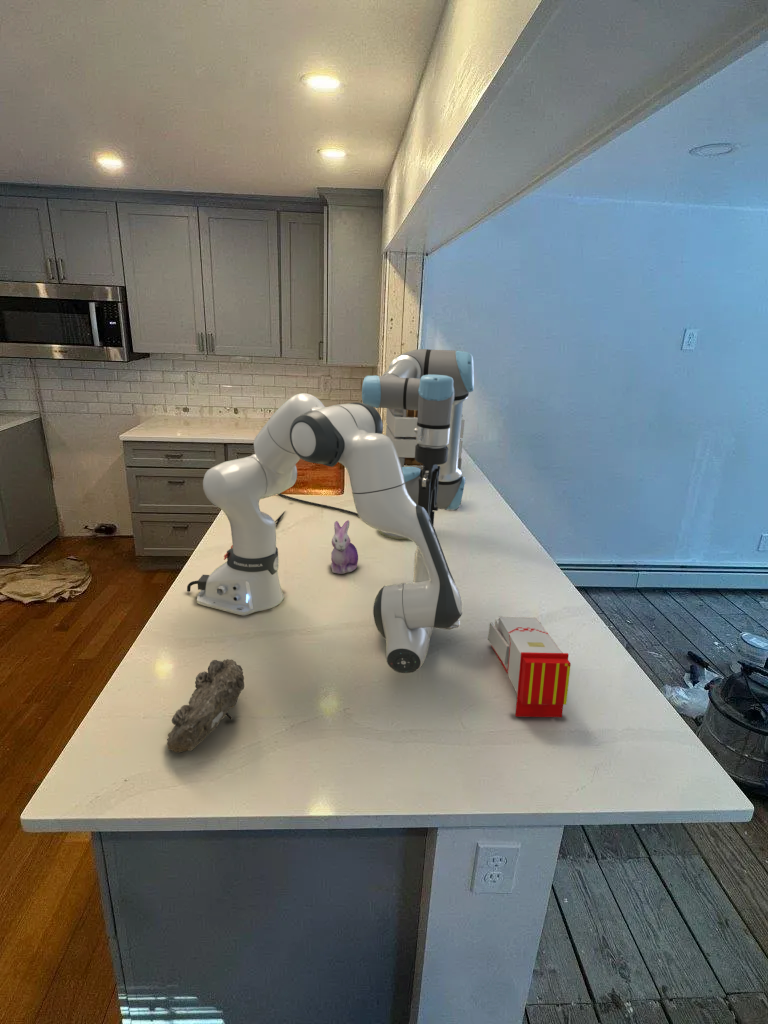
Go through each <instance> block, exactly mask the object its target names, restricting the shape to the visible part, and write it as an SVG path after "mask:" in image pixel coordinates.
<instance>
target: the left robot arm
mask: <svg viewBox="0 0 768 1024" xmlns="http://www.w3.org/2000/svg"><path fill="white" fill-rule="evenodd" d="M383 431H384V426H383V419H382V417H381V415H380V413H379V412H378V410H377V408H375V407H372V406H370V405H368V404H364V403H363V402H349V403H339V404H333V405H330V406H325V404H324V403H323V402H322V401H321V400H320V399H319V398H317V397H316V396H315V395H313V394H310V393H306V392H302V393H301V392H300V393H296V394H294V395H292V396H290V398H289V399H287V400H286V401H284V403H283V404H281V405H280V406H279V408H277V409H276V411H274V412H273V414H272V415H271V416H270V418H269V419H268V420H267V421H266V423H265V424H264V425H263V427H262V428H260V430H259V432H258V433H257V435H255V436H254V439H253V451H254V453H252V454H251V455H249V456H245V457H240V458H236V459H232V460H226V461H223V462H221V463H218V464H217V465H215V466H212V467H210V468H208V469H207V471H205V474H204V475H203V479H202V490H203V493H204V495H205V498H206V499H207V500H208V501H209V502H210V503H211V505H213V506H215V507H216V508H219V509H220V510H221V511H222V512H223V513H224V514H225V516H226V518H227V520H228V523H229V525H230V532H231V541H232V544H231V546H230V548H229V549H227V551H226V553H225V554H224V555H223V560H224V561H225V560H226V561H225V562H223V563H222V564H221V565H219V566H218V567H216V568H215V569H214V570H213V571H212V572H211V573H210V574H202V575H201V576H200V577H199V579H198V580H193V581H191V582H189V583H188V584H187V586H186V592H188V593H189V592H191V588H192V586H193V585H194V586H195V585H197V590H198V591H199V592H198V594H197V597H196V604H198V605H200V606H204V607H208V608H212V609H216V610H220V611H224V612H226V613H231V614H233V615H234V614H235V615H238V616H242V617H243V616H248V615H251V614H253V613H256V612H261V611H266V610H270V609H272V608H275V607H277V606H278V605H279V604H281V603H282V602H283V601H284V598H285V596H284V595H285V594H284V593H283V590H282V586H281V582H280V577H279V567H280V557H279V548H278V547H277V527H276V525H277V524H276V522H275V521H276V520H274V519H273V517H272V516H271V515H269V514H267V513H266V512H264V511H261V509H260V500H264V499H266V498H270V497H274V496H278V495H277V494H280V493H281V494H283V493H284V492H285V491H287V490H289V489H290V488H292V487H293V486H294V485H295V484H296V482H297V479H298V468H297V463H298V462H299V461H301V460H303V461H305V462H307V463H310V464H319V465H324V466H327V467H330V468H333V467H336V465H337V464H338V463H339V464H341V465H342V466H344V468H345V469H346V471H347V474H348V477H349V482H350V489H351V493H352V498H353V504H354V507H355V510H356V513H358V515H359V516H358V517H359V519H361V521H362V522H364V523H365V524H366V525H367V526H368V527H371V528H373V529H374V530H377V531H379V530H380V531H383V532H387V533H392V534H396V535H400V536H403V537H405V538H408V539H410V540H409V541H412V542H413V543H414V544H415V545H416V546H417V547H418V548H419V549H420V552H421V554H422V557H423V560H424V563H425V565H426V568H427V571H428V574H429V576H430V579H431V580H429V581H424V582H415V583H413V582H407V583H406V582H402V583H394V584H387V585H383V586H382V587H381V588H380V589H379V591H378V592H377V594H376V596H375V598H374V601H373V607H372V609H373V610H372V614H373V621H374V624H375V627H376V629H377V631H378V633H379V634H380V635H381V636H382V638H384V640H385V660H386V664H387V665H388V667H389V668H390V669H391V670H393V671H395V672H397V673H399V674H411V673H415V672H417V671H418V670H420V668H422V666H423V664H424V662H425V660H426V657H427V655H428V652H429V649H430V639H431V636H432V633H433V629H440V630H447V631H448V630H453V629H456V628H457V629H458V628H459V627H460V624H461V621H460V618H461V617H462V615H463V598H462V595H461V593H460V590H459V588H458V586H457V584H456V582H455V579H454V578H453V575H452V573H451V570H450V567H449V565H448V562H447V560H446V556H445V553H444V551H443V548H442V546H441V542H440V539H439V538H438V537H439V536H438V535H437V532H436V528H435V526H434V525H433V524H432V522H431V519H430V517H429V515H428V513H427V512H426V510H425V509H424V507H421V506H419V505H417V504H416V503H415V502H414V501H413V500H412V499H411V497H410V496H409V494H408V491H407V489H406V485H405V480H404V475H403V471H402V467H401V464H400V460H399V457H398V454H397V451H396V449H395V446H394V444H393V442H392V440H391V439H390V438H389V437H388V436H386V434H383Z"/></svg>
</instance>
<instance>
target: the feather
mask: <svg viewBox="0 0 768 1024" xmlns="http://www.w3.org/2000/svg"><path fill="white" fill-rule="evenodd" d="M285 512H286V510H285V511H283V513H281V515H279V516H278V518H276V520H274V521H275V524H276V528H277V527H278V525H279V523H280V521H281V519H282V517H283V516H284V514H285Z"/></svg>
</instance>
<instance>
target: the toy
mask: <svg viewBox="0 0 768 1024" xmlns="http://www.w3.org/2000/svg"><path fill="white" fill-rule="evenodd" d="M488 625H489V627H488V633H487V641H488V642H489V644H490V646H491V647H490V648H491V649H492V650H493V652H494V654H495V656H496V658H497V659H498V660H499V662H500V664H501V666H502V668H503V669H504V671H505V673H506V674H507V676H508V678H509V680H510V682H511V685H512V686H513V689H514V690H515V693H516V704H515V717H516V718H517V717H518V718H519V717H520V718H521V717H522V718H563V710H564V705H567V701H568V692H569V685H570V684H569V683H570V676H571V675H570V674H571V666H572V664H571V661H570V660H569V655H570V654H569V653H568V652H563V651H562V649H561V648H560V647H559V646H558V644H557V643H556V642H555V640H554V639H553V638H552V636H551V635H550V634H549V632H548V631H547V629H546V628H545V627H544V626H543V624H542V622H541V621H540V620H539V619H538V618H537V616H498V618H496V619H494V623H493V622H489V624H488Z"/></svg>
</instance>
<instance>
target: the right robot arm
mask: <svg viewBox="0 0 768 1024" xmlns="http://www.w3.org/2000/svg"><path fill="white" fill-rule="evenodd" d="M474 366H475V365H474V357H473V355H472V354H471V352H469V351H461V350H458V349H456V350H453V349H429V348H428V349H427V348H419V349H413V350H410V351H406V352H403V353H401V354H399V355H398V356H396V357H394V358H393V360H391V362H390V364H389V366H388V369H387V370H386V371H385V372H384V373H383V374H381V375H378V374H375V375H365V377H364V378H363V381H362V387H361V399H362V403H364V404H368V405H370V406H372V407H373V408H375V409H387V408H392V409H406V410H418V420H417V429H415V430H414V432H415V433H417V435H416V442H417V443H418V444H417V445H416V446H415V460H416V461H417V462H419V463H422V464H423V466H422V469H421V468H420V467H417V466H404V467H402V471H403V475H404V480H405V485H406V489H407V491H408V494H409V496H410V497H411V499H412V500H413V501H414V502H415V503H416V504H417V505H419V506H421V507H424V509H425V510H426V512H427V513H428V515H429V517H430V519H431V522H432V524H433V526H434V523H435V512H438V510H444V511H448V510H450V511H456V510H458V509H459V508H460V506H461V505H460V503H461V504H462V499H463V494H464V489H465V484H466V477H465V476H463V474H462V470H461V471H460V469H459V468H458V456H459V443H460V439H461V438H460V431H461V419H463V408H464V407H463V406H464V401H466V400H467V399H468V398H469V394H470V393H471V392H474V390H475V371H474V370H475V367H474ZM276 496H279V497H282V498H285V499H288V500H291V501H293V502H299V503H302V504H307V505H310V506H317V507H321V508H325V509H331V510H334V511H339V512H342V513H346V514H350V515H354V516H357V517H359V515H358V513H357V512H355V511H352V510H349V509H348V510H347V509H344V508H341V507H336V506H332V505H328V504H323V503H322V504H321V503H318V502H312V501H310V500H309V501H308V500H304V499H300V498H296V497H292V496H289V495H286V494H283V493H280V494H277V495H276ZM378 533H379V534H380V535H381V536H382V537H385V538H387V539H389V540H395V541H411V540H410V539H408V538H405V537H403V536H400V535H396V534H392V533H387V532H383V531H380V530H378Z"/></svg>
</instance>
